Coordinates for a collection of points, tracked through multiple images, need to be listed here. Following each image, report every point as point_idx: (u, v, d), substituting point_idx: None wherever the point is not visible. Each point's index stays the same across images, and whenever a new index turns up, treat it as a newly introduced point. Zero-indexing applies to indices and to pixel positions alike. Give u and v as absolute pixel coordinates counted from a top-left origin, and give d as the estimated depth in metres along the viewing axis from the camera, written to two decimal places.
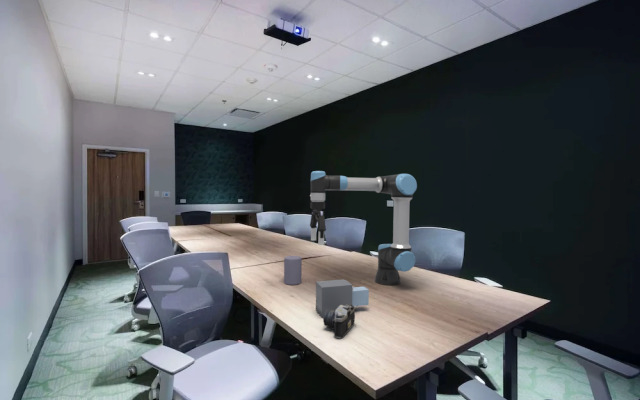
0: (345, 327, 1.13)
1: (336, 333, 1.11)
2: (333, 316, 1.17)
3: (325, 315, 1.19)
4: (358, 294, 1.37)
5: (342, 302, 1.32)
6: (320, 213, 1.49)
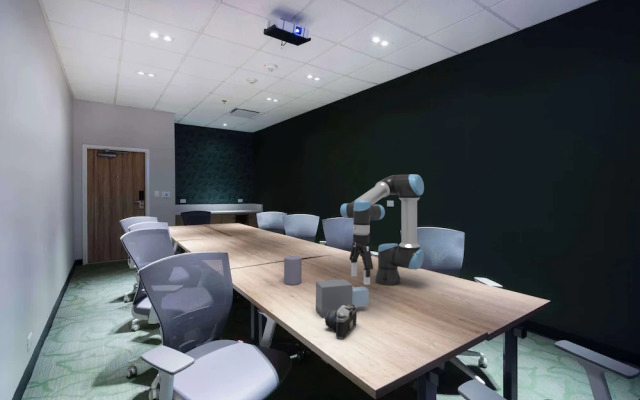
0: (347, 327, 1.13)
1: (338, 333, 1.11)
2: (335, 316, 1.17)
3: (327, 315, 1.18)
4: (358, 294, 1.37)
5: (342, 302, 1.32)
6: (366, 249, 1.32)
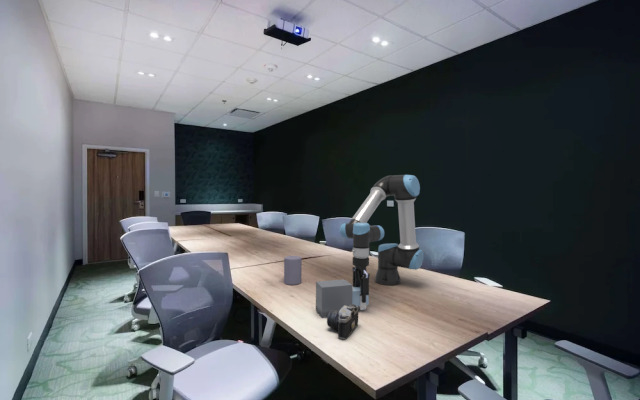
0: (349, 328, 1.13)
1: (340, 334, 1.11)
2: (337, 317, 1.16)
3: (329, 316, 1.18)
4: (358, 294, 1.37)
5: (342, 302, 1.32)
6: (365, 276, 1.33)
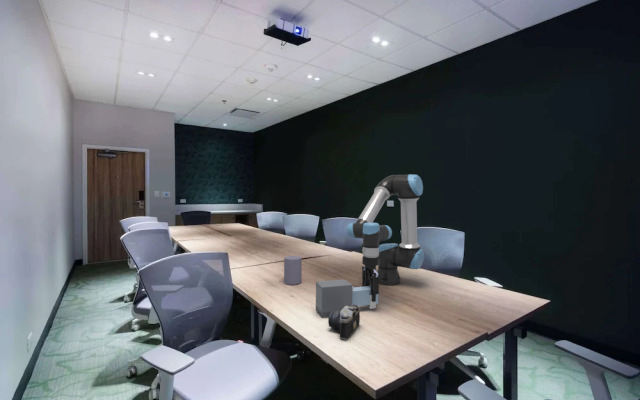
0: (350, 328, 1.12)
1: (341, 334, 1.10)
2: (338, 317, 1.16)
3: (330, 316, 1.18)
4: (368, 293, 1.38)
5: (342, 302, 1.32)
6: (375, 275, 1.35)
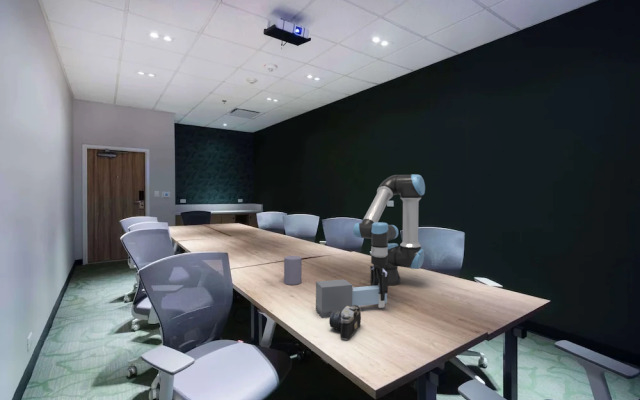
0: (352, 328, 1.12)
1: (343, 335, 1.10)
2: (339, 317, 1.16)
3: (331, 316, 1.17)
4: (377, 292, 1.39)
5: (342, 302, 1.32)
6: (384, 275, 1.36)
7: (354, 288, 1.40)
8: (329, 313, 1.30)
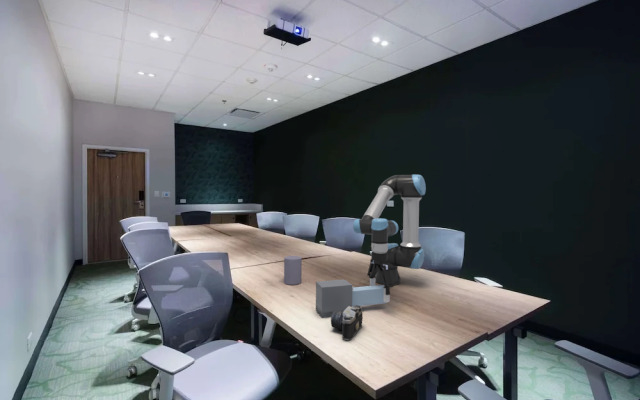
0: (353, 329, 1.12)
1: (344, 335, 1.10)
2: (341, 318, 1.15)
3: (333, 317, 1.17)
4: (377, 292, 1.39)
5: (342, 302, 1.32)
6: (385, 267, 1.36)
7: (354, 288, 1.40)
8: (329, 313, 1.30)
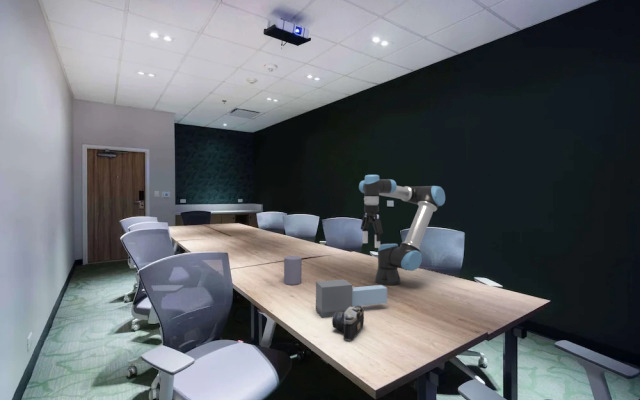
0: (355, 329, 1.12)
1: (346, 335, 1.10)
2: (342, 318, 1.15)
3: (334, 317, 1.17)
4: (377, 292, 1.39)
5: (342, 302, 1.32)
6: (376, 216, 1.51)
7: (354, 288, 1.40)
8: (329, 313, 1.30)
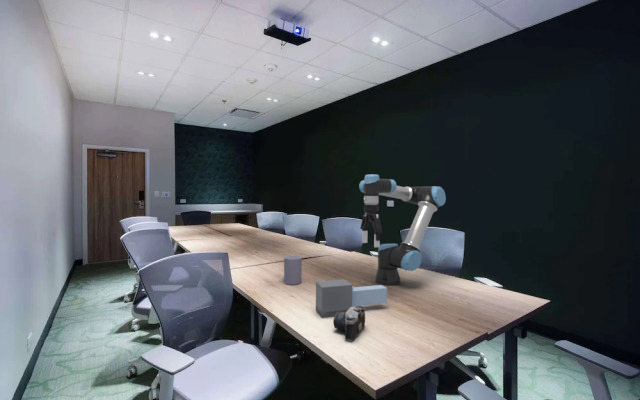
0: (356, 330, 1.11)
1: (347, 336, 1.09)
2: (343, 318, 1.15)
3: (335, 317, 1.17)
4: (377, 292, 1.39)
5: (342, 302, 1.32)
6: (376, 216, 1.51)
7: (354, 288, 1.40)
8: (329, 313, 1.30)
